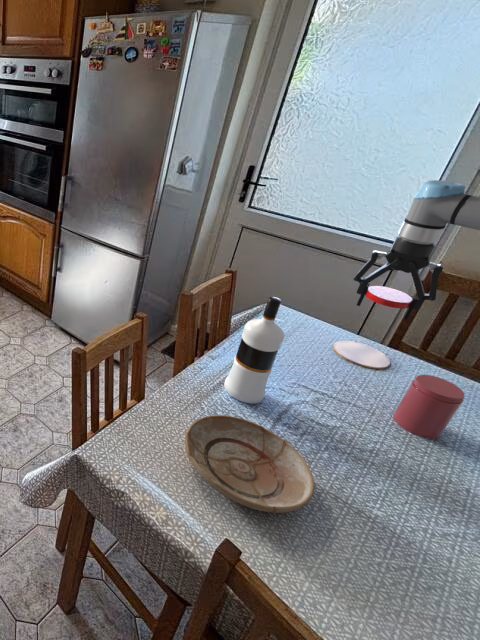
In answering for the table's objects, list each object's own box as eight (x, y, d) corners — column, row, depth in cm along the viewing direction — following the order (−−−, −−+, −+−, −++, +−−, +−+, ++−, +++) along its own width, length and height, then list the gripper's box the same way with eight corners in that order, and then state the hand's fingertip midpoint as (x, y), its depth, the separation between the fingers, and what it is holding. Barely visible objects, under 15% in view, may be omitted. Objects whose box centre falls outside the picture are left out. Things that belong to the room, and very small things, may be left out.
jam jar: (440, 424, 101) (466, 386, 96) (440, 444, 96) (467, 405, 91) (394, 406, 107) (415, 368, 102) (391, 424, 102) (413, 385, 96)
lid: (356, 291, 121) (358, 286, 120) (386, 290, 122) (388, 285, 121) (387, 309, 113) (390, 303, 112) (419, 307, 113) (422, 301, 112)
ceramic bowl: (183, 416, 105) (187, 401, 103) (296, 451, 95) (303, 436, 93) (179, 492, 87) (183, 476, 85) (317, 546, 77) (327, 530, 75)
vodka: (215, 386, 115) (243, 293, 102) (239, 377, 118) (270, 286, 105) (246, 409, 107) (281, 312, 94) (271, 399, 110) (308, 304, 97)
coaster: (391, 354, 125) (392, 353, 125) (387, 375, 117) (388, 373, 117) (336, 336, 134) (337, 335, 134) (329, 354, 126) (330, 353, 126)
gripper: (478, 246, 104) (436, 320, 114) (363, 225, 119) (335, 292, 128) (479, 255, 100) (435, 331, 109) (360, 232, 114) (330, 301, 124)
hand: (381, 310), depth 119 cm, fingers closed on lid, 9 cm apart
